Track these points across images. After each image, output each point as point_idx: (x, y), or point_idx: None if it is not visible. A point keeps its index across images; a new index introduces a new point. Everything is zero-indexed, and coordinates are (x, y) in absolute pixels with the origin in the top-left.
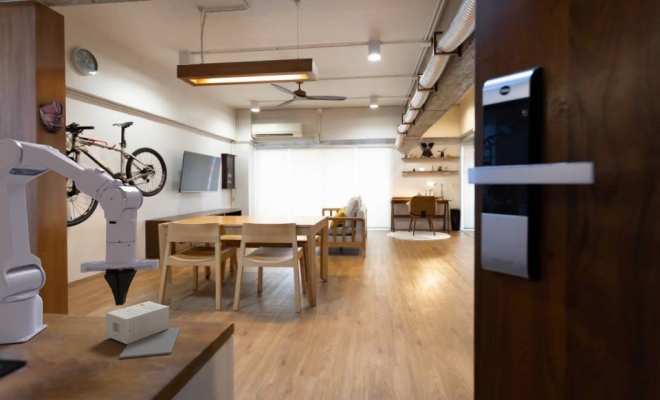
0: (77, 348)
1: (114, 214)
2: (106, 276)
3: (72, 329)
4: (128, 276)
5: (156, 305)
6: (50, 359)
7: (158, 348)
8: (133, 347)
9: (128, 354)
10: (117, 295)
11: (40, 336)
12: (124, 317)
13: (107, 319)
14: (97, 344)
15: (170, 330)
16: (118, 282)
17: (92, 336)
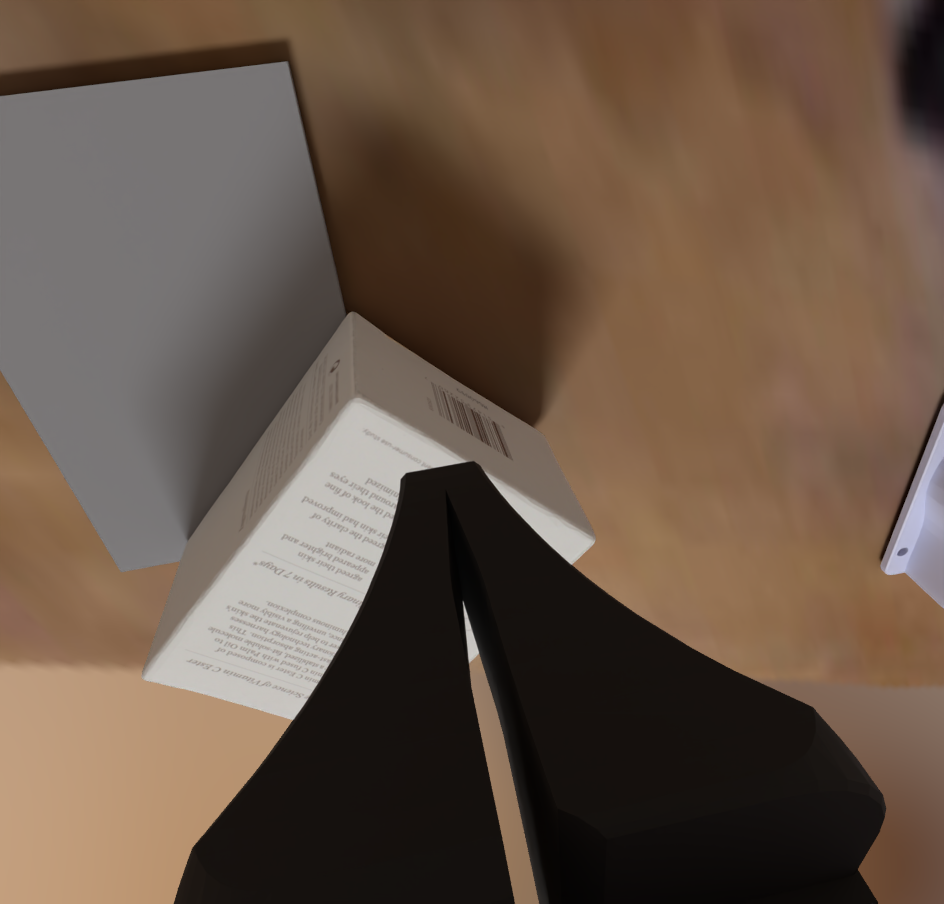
0: (660, 296)
1: None
2: (806, 758)
3: (758, 545)
4: (218, 868)
5: (267, 685)
6: (772, 127)
7: (32, 205)
8: (267, 248)
9: (229, 101)
10: (471, 528)
11: (886, 466)
12: (397, 439)
13: (569, 497)
14: (560, 349)
15: (160, 524)
16: (514, 722)
17: (631, 462)
